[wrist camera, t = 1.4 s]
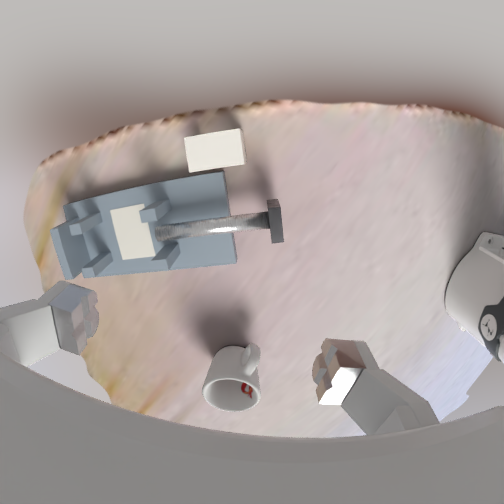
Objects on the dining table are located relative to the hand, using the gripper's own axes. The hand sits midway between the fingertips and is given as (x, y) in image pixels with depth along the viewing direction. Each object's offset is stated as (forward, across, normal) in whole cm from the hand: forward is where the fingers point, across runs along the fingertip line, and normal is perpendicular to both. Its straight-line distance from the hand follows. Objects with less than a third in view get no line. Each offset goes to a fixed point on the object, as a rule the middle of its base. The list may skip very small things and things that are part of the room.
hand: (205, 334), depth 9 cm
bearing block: (+26, +12, +6) cm, 29 cm away
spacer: (+25, +3, -5) cm, 26 cm away
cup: (+26, -5, +23) cm, 34 cm away
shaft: (+23, +2, +3) cm, 24 cm away
